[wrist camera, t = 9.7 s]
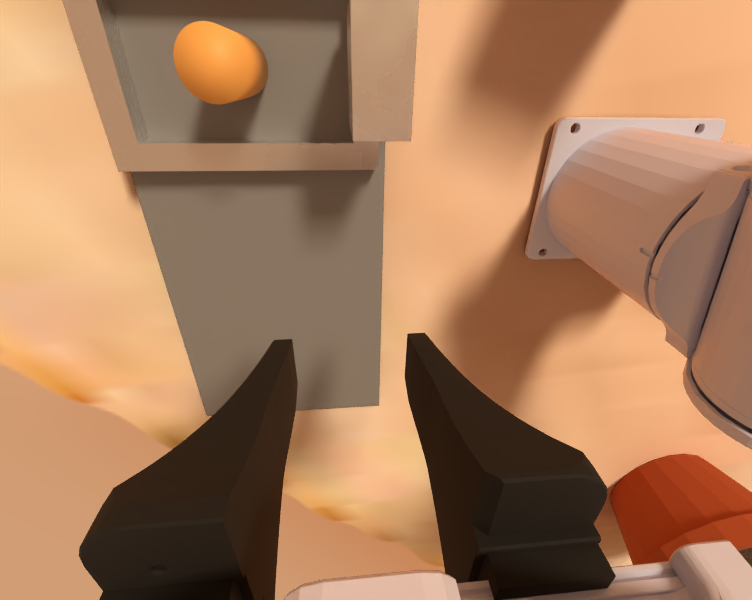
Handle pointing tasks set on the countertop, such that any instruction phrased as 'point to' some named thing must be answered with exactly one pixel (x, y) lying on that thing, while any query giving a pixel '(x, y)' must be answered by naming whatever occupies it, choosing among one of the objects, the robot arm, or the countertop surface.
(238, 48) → the post
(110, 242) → the countertop surface
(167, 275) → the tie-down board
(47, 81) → the countertop surface
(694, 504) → the potted plant
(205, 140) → the beige open rectangular frame
